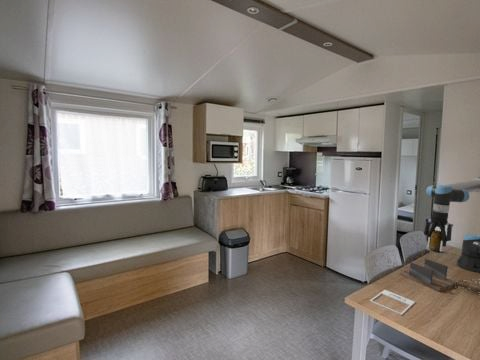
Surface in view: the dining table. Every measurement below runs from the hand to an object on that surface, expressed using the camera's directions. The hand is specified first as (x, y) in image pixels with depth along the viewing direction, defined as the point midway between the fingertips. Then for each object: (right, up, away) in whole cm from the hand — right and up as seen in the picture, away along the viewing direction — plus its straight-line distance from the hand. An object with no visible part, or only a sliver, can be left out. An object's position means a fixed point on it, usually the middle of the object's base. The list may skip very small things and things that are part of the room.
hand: (435, 249), depth 160 cm
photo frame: (-40, -21, -25) cm, 51 cm away
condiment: (0, -1, -1) cm, 1 cm away
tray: (-4, -19, +2) cm, 20 cm away
